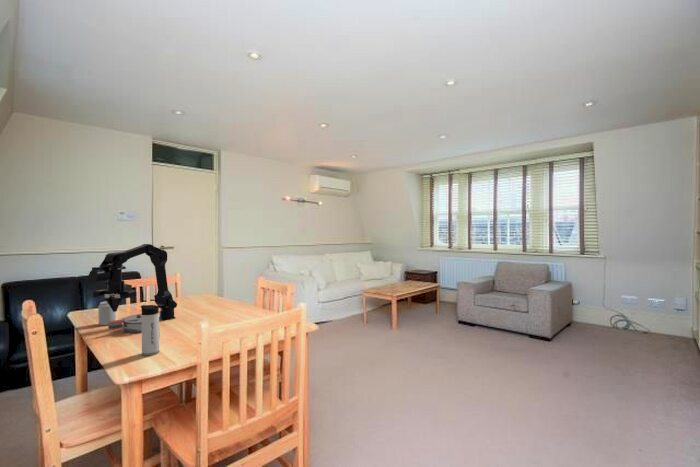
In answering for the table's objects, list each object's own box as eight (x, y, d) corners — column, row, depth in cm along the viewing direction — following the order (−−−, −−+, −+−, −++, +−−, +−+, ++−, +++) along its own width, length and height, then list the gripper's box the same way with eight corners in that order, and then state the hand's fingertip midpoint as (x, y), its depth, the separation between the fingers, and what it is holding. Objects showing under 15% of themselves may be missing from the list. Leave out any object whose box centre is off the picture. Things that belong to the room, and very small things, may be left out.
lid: (150, 314, 184) (150, 309, 184) (160, 319, 174) (160, 314, 174) (105, 322, 169) (105, 317, 169) (112, 328, 159) (112, 323, 159)
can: (106, 326, 179) (106, 303, 178) (95, 325, 180) (94, 303, 180) (119, 322, 186) (118, 300, 186) (107, 321, 188) (107, 300, 187)
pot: (156, 322, 186) (156, 313, 186) (165, 327, 177) (165, 318, 176) (105, 332, 169) (105, 322, 169) (112, 338, 160) (112, 328, 160)
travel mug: (145, 350, 144) (145, 303, 144) (162, 350, 145) (161, 303, 144) (137, 356, 138) (137, 307, 138) (154, 355, 139) (154, 307, 138)
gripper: (144, 277, 171) (144, 308, 171) (111, 276, 173) (111, 307, 173) (127, 280, 159) (127, 314, 160) (91, 279, 162) (92, 312, 162)
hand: (115, 311), depth 164 cm, fingers closed
